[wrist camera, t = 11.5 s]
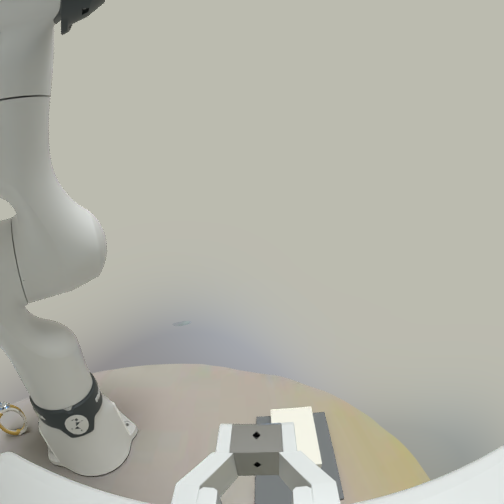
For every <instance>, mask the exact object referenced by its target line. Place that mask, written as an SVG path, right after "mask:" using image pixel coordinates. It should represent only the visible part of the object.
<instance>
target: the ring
mask: <svg viewBox="0 0 504 504" xmlns="http://www.w3.org/2000/svg"><path fill="white" fill-rule="evenodd" d="M8 411H14V412H16V413H18V414H19V415H20V416H21V417H22V418H23V420H24V426H23V427H22V428H21V429H17V430H16V431H14V430H9V429H7V428H5V427H4V426H3V425H2V424H1V422H0V428H1V429H2V430H3V431H4V432H6V433H8V434H12V435H22V433H24V432H25V431H26V429H27V420H26V417H25V415H24V413H23V412H22V411H21V410H20V409H19V408H18V407H16V406H14V405H11V404H9V403H8V404H7V402H2V403H1V402H0V418H1V416H2V415H3V413H5V412H8Z"/></svg>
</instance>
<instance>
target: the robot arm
mask: <svg viewBox="0 0 504 504" xmlns="http://www.w3.org/2000/svg"><path fill="white" fill-rule="evenodd" d="M104 2H105V0H0V198H2V199H4V200H6V201H7V202H9V203H10V204H11V205H12V207H13V208H14V209H15V211H16V213H17V214H16V215H15V216H14V217H12V218H10V219H6V220H2V221H0V347H1V349H2V350H3V351H4V352H5V353H6V355H7V356H8V358H9V359H10V360H11V362H12V364H13V366H14V368H15V369H16V371H17V373H18V374H19V376H20V378H21V380H22V382H23V384H24V386H25V387H26V389H27V391H28V393H29V395H30V401H31V403H32V406H33V408H34V410H35V412H36V414H37V415H38V417H39V422H38V425H39V431H40V433H41V435H42V437H43V438H44V440H45V441H46V443H47V445H48V457H49V460H50V461H51V463H53V464H55V465H59V466H64V467H66V468H68V469H70V470H71V471H73V472H75V473H77V474H80V475H85V476H98V475H103V474H106V473H109V472H111V471H113V470H114V469H116V468H117V467H119V466H120V465H121V464H122V463H123V462H124V460H125V459H126V458H127V456H128V454H129V451H130V446H131V441H132V439H133V438H134V437H135V436H136V434H137V432H138V428H137V427H136V425H135V424H134V423H133V422H131V421H130V420H129V419H128V418H127V417H126V416H125V415H124V414H122V413H121V412H120V411H119V410H118V409H117V407H116V405H115V403H114V402H112V401H110V400H109V399H108V398H107V397H106V396H105V395H104V394H102V393H101V391H100V388H99V385H98V383H97V381H96V380H95V378H94V376H93V375H92V374H91V373H90V372H89V369H88V367H87V364H86V362H85V359H84V356H83V353H82V351H81V348H80V345H79V342H78V339H77V337H76V336H75V334H74V333H73V332H72V331H71V330H70V329H69V328H68V327H66V326H65V325H63V324H61V323H58V322H56V321H52V320H47V319H42V318H39V317H36V316H34V315H33V314H31V313H30V312H29V311H28V310H27V309H26V308H25V305H27V304H28V303H31V302H35V301H38V300H41V299H45V298H48V297H52V296H55V295H59V294H62V293H65V292H69V291H72V290H74V289H76V288H77V287H80V286H81V285H83V284H85V283H87V282H89V281H91V280H92V279H94V278H96V277H98V276H99V275H100V273H101V271H102V269H103V267H104V264H105V260H106V254H107V245H106V244H107V243H106V238H105V234H104V231H103V228H102V226H101V224H100V223H99V221H98V220H97V219H96V217H95V216H94V215H93V214H92V213H91V212H90V211H89V210H87V209H86V208H84V207H82V206H80V205H79V204H77V203H76V202H75V201H74V200H72V199H71V198H70V197H69V196H68V195H67V193H66V192H65V191H64V189H63V188H62V187H61V185H60V183H59V181H58V180H57V178H56V175H55V173H54V170H53V167H52V163H51V158H50V149H49V106H50V96H51V85H52V73H53V57H54V25H55V24H57V23H58V22H59V21H60V20H61V34H62V35H63V34H65V33H67V32H69V30H70V28H71V26H72V24H73V23H75V22H77V21H79V20H81V19H83V18H85V17H87V16H89V15H90V14H91V13H92V12H93V11H95V10H96V9H97V8H98V7H99V6H101V5H102V4H103V3H104ZM252 475H279V476H280V478H281V479H282V480H283V481H284V482H285V484H286V485H287V486H288V487H289V488H290V490H291V491H292V492H293V494H292V503H291V504H340V499H339V494H338V489H337V485H336V481H335V480H333V479H332V478H331V477H330V476H329V475H327V474H326V473H325V472H324V471H323V470H322V469H321V468H319V467H318V466H317V465H316V464H315V463H314V462H313V461H312V460H310V459H309V458H308V457H307V456H306V455H305V454H304V453H303V452H302V451H297V444H296V435H295V427H294V423H293V422H285V423H266V424H220V426H219V433H218V439H217V445H216V452H212V453H211V454H210V455H209V456H207V457H206V458H205V459H204V460H203V461H202V462H201V463H200V464H198V465H197V466H196V467H195V468H194V469H193V470H192V471H190V472H189V473H188V474H187V475H186V476H184V477H183V478H182V479H181V480H180V481H178V482H177V483H176V486H175V490H174V494H173V498H172V502H171V504H222V502H221V499H220V497H221V496H222V495H223V494H224V493H225V491H226V490H227V489H228V488H229V487H230V486H231V484H232V483H233V482H234V481H235V480H236V478H237V477H238V476H252ZM0 504H152V503H147V502H142V501H138V500H134V499H130V498H126V497H122V496H118V495H115V494H111V493H108V492H105V491H101V490H98V489H95V488H92V487H89V486H86V485H84V484H81V483H78V482H76V481H73V480H70V479H68V478H65V477H63V476H61V475H58V474H56V473H54V472H51V471H49V470H47V469H45V468H43V467H40V466H38V465H36V464H34V463H32V462H30V461H28V460H26V459H25V458H23V457H21V456H19V455H17V454H15V453H13V452H5V453H1V454H0ZM352 504H504V445H503V446H501V447H499V448H498V449H496V450H494V451H492V452H491V453H489V454H487V455H485V456H483V457H481V458H480V459H478V460H476V461H474V462H472V463H470V464H468V465H466V466H464V467H461V468H459V469H457V470H455V471H453V472H450V473H448V474H446V475H443V476H441V477H439V478H436V479H434V480H431V481H428V482H426V483H423V484H420V485H417V486H415V487H412V488H409V489H406V490H402V491H399V492H396V493H393V494H389V495H386V496H382V497H378V498H374V499H370V500H366V501H362V502H357V503H352Z"/></svg>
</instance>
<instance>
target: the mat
mask: <svg viewBox="0 0 504 504" xmlns="http://www.w3.org/2000/svg"><path fill="white" fill-rule="evenodd" d="M312 414H313V419H314V424H315V429H316V434H317V440H318V445H319V450H320V455H321V461H322V466H321V469H322V470H323V471H324V472H325V473H326V474H327V475H329V476H330V477H331V478H332V479H333V480H335V481H336V485H337V489H338V494H339V499H340V500H343V499H344V496H343V491H342V486H341V482H340V477H339V473H338V468H337V464H336V459H335V455H334V451H333V446H332V442H331V438H330V434H329V429H328V425H327V421H326V417H325V413H324V412H319V413H312ZM266 423H271V416H266V417H257V424H266ZM292 494H293V492H292V491H291V490H290V488H289V487H288V486H287V485H286V484H285V482H284V481H283V480H282V479H281V478H280V476H279V475H256V479H255V504H291V503H292Z"/></svg>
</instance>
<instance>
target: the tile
mask: <svg viewBox="0 0 504 504" xmlns="http://www.w3.org/2000/svg"><path fill="white" fill-rule="evenodd" d="M285 422H293V423H294V427H295V435H296V444H297V451H302V452H303V453H304V454H305V455H306V456H307V457H308V458H309V459H310V460H312V461H313V462H314V463H315V464H316V465H317V466H318V467H319V468H321V466H322V461H321V455H320V450H319V445H318V440H317V434H316V429H315V424H314V419H313V414H312V409H311V407H300V408H287V409H271V423H285Z"/></svg>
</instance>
